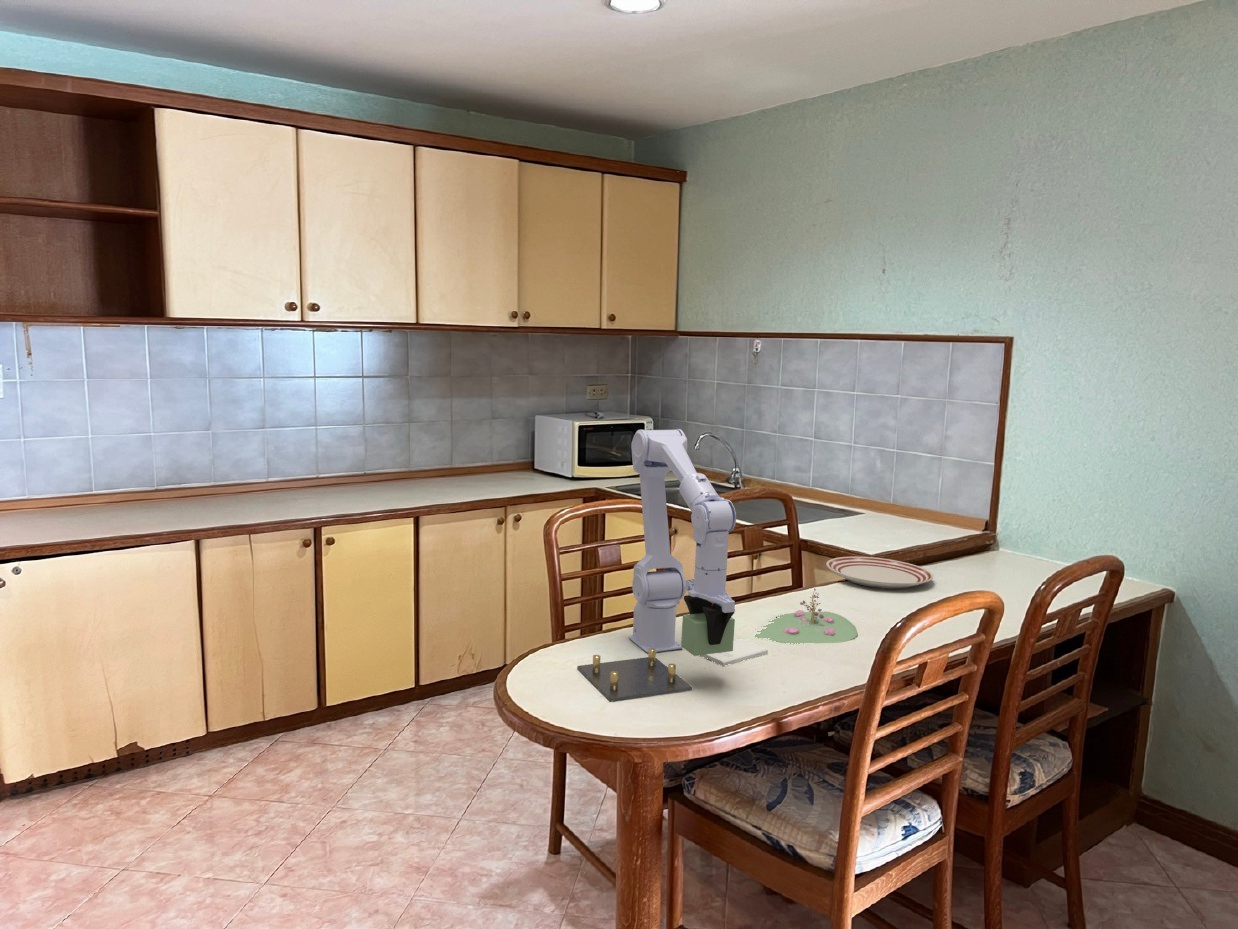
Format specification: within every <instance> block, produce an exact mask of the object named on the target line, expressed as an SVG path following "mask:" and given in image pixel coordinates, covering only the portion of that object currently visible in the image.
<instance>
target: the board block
mask: <svg viewBox="0 0 1238 929" xmlns="http://www.w3.org/2000/svg"><path fill="white" fill-rule="evenodd" d="M735 622H736V620H735V618H733V617H731V618H730V620H729V622H728V624H727V626H726V628H725V631H724V634H723V637H722V640H721V643H720V644H717V645H710V644H709V642H708V631H707V621H706V617H705V614H704V613H698V614H690V613H689V614H682V625H681V626H682V627H681V640H680V641H681V643H680V645H681V647H682V649H684V650H686V652H688V653H689V654H691V655H692V656H694V657H697V656H698V657H699V655H706V654H714V653H722V652H730V651H733V641H734V640H735V638H734V637H735Z"/></svg>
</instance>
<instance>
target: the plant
mask: <svg viewBox="0 0 1238 929" xmlns="http://www.w3.org/2000/svg"><path fill="white" fill-rule="evenodd" d="M816 590H817V589H816V588H814V587H813V593H812V596H810V597H809V598H811V601H809V604H807V602H806V601H805V600H802V601H801V602H800V603H799V604H800V605H801V606H804V607H806V610H807V611H804V610H800V609H798V610H796V611H795V612H791V613H784V615H783V614H779V615H780V616H779V615H776V617H780V618H777V619H774V620H772V621H769V620H768V621H769V622H774V623H771V624H768V625H766V626H763V627H767V628H766V629H762V630H761V631H757V632H761V633H760V634H756V635H755V637H754V638H756V637H757V638H756V639H759V638H767V639H768V638H770V639H769V640H772V641H771V642H774V641H776V642H775V643H780V644H786V643H790V644H789V645H801V644H800V643H803V644H802V645H805V644H804V643H814V644H839V643H841V644H842V643H845V642H849V641H852V640H854V639H856V638H857V637H858V636H859V633H858V630H857V627H856V625H854V624H853V623H852V622H851V621H850V620H848V618H846V617H844V616H842V615H841V614H838V613H835V612H831V611H823V610H822V609H821V608H818V609H817V611H816V608H817V606H819V605H821V602H817V600H816V599H820V597H819V593H817V591H816ZM815 591H816V592H815ZM815 598H816V599H815ZM791 643H793V644H791ZM795 643H796V644H795ZM797 643H798V644H797Z"/></svg>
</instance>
